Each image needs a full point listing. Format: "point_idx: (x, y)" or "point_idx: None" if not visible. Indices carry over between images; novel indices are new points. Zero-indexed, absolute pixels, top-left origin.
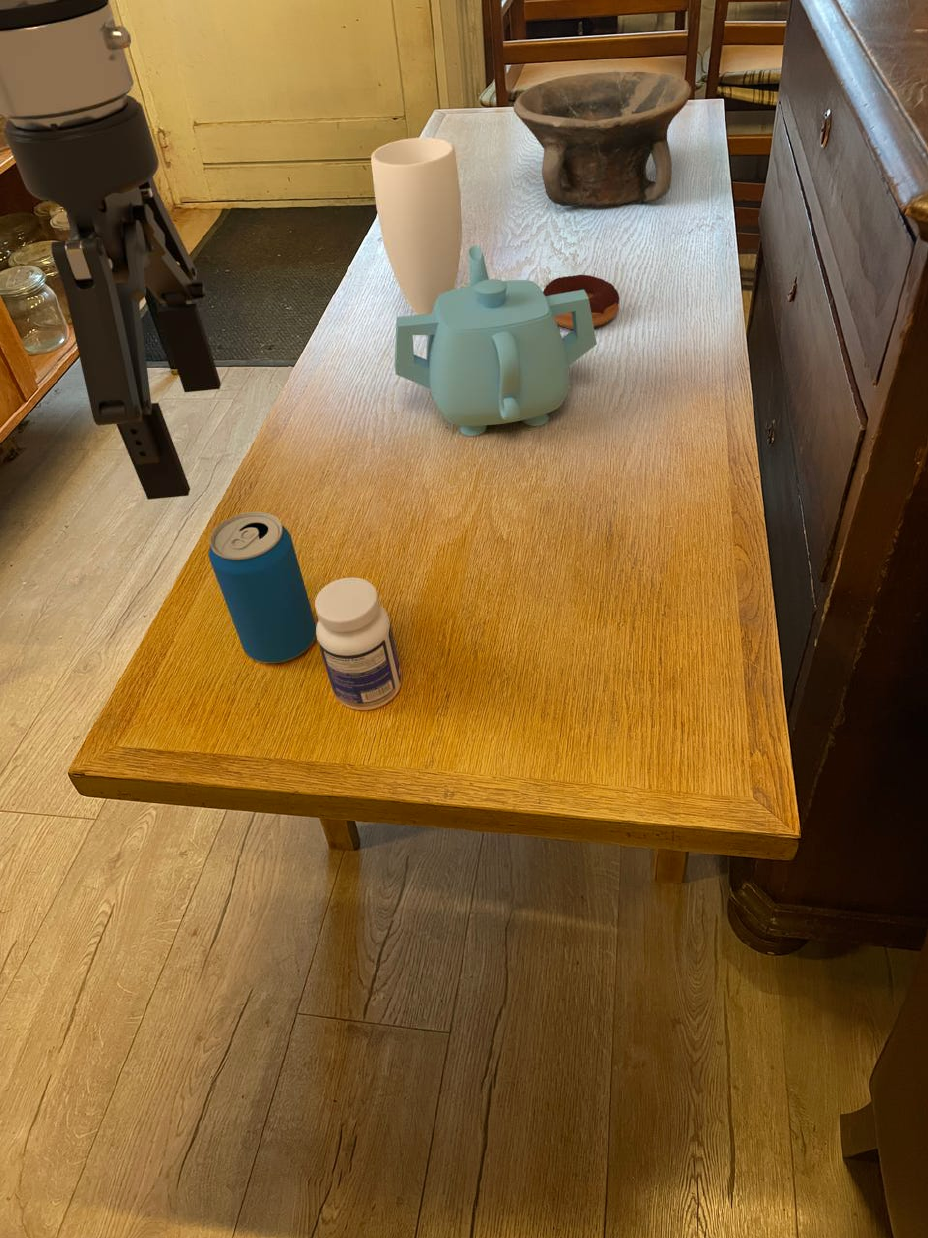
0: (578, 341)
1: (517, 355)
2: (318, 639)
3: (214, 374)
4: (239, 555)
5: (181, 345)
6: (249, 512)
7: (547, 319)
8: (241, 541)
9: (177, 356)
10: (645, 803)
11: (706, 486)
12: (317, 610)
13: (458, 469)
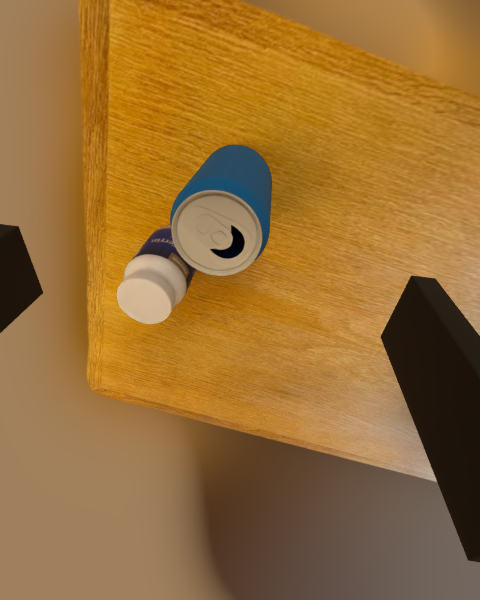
0: None
1: None
2: (138, 257)
3: (390, 361)
4: (180, 227)
5: (451, 392)
6: (260, 241)
7: None
8: (208, 228)
9: (448, 351)
10: (94, 357)
11: (311, 435)
12: (129, 280)
13: None
